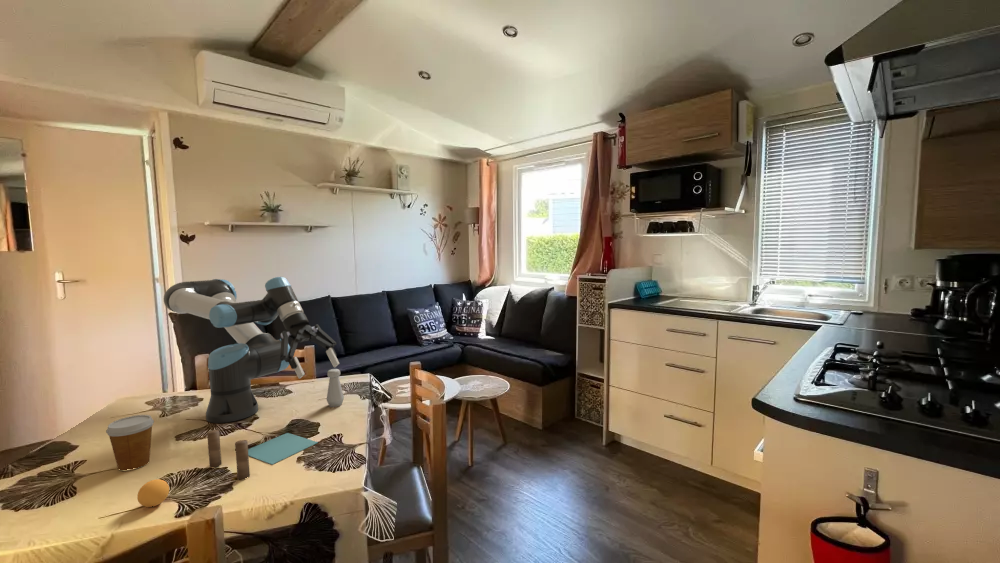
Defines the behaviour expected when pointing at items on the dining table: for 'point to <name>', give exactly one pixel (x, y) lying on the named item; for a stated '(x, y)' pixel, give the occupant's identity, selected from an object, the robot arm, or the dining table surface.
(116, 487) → the dining table surface
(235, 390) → the robot arm
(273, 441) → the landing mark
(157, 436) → the dining table surface
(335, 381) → the salt shaker
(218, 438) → the inner post
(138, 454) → the disposable coffee cup
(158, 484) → the ball
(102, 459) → the dining table surface
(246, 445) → the outer post
